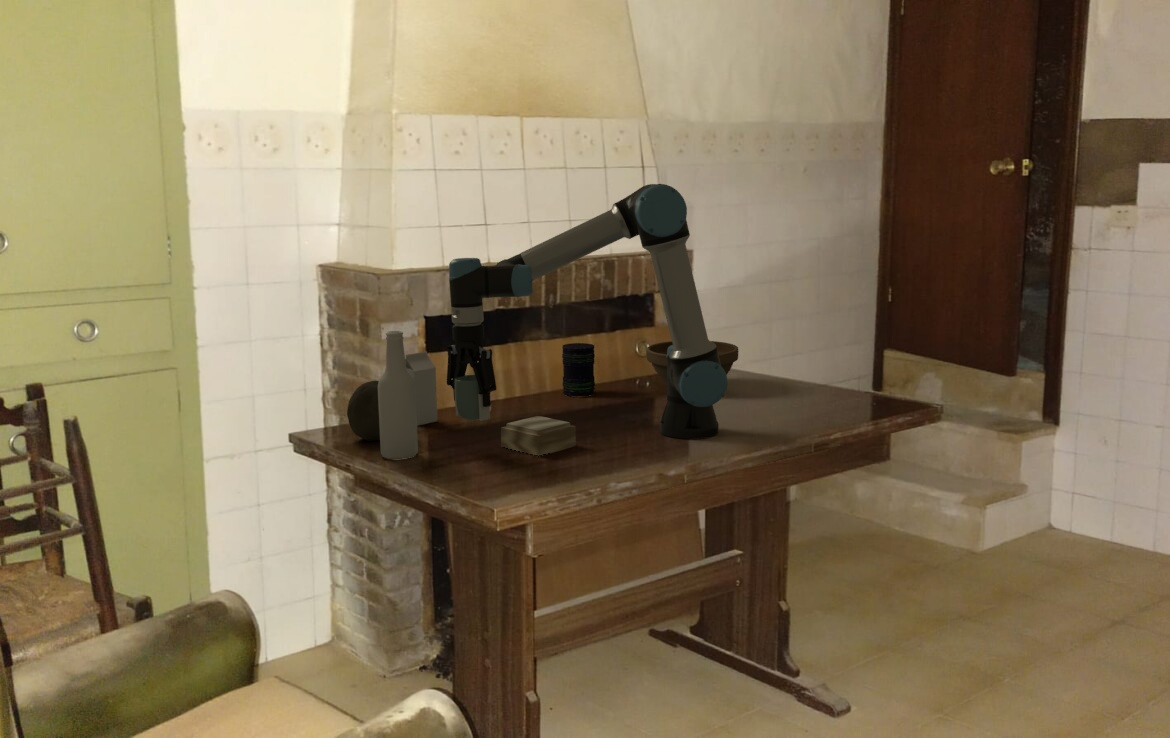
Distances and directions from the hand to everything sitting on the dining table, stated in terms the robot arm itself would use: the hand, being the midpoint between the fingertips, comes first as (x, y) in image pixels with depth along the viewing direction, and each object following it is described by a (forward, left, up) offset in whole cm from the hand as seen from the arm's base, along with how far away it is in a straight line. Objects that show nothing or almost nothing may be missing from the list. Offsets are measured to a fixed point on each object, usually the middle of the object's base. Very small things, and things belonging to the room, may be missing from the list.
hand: (472, 417), depth 254 cm
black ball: (+27, +8, -9) cm, 30 cm away
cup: (0, 0, -1) cm, 1 cm away
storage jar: (+26, -66, -9) cm, 71 cm away
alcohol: (+10, +14, -9) cm, 20 cm away
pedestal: (-9, -14, -9) cm, 18 cm away
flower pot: (+5, -95, -9) cm, 95 cm away
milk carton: (+34, -11, -9) cm, 37 cm away
